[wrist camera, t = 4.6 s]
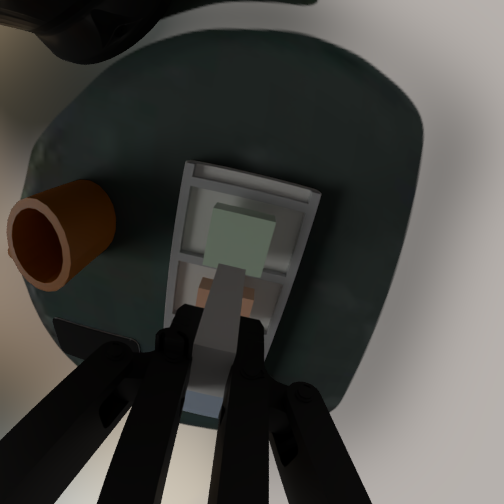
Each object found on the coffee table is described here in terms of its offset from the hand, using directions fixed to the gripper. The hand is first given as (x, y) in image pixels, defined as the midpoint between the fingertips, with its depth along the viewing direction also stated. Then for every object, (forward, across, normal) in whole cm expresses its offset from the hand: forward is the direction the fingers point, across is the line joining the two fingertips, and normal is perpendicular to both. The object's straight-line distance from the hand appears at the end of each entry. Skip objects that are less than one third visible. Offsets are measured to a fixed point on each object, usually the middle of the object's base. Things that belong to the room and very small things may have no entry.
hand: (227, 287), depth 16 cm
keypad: (+12, 0, -10) cm, 16 cm away
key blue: (+9, 0, -21) cm, 23 cm away
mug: (+12, -19, -4) cm, 23 cm away
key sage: (+9, 0, 0) cm, 9 cm away
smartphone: (+13, -17, -23) cm, 31 cm away
